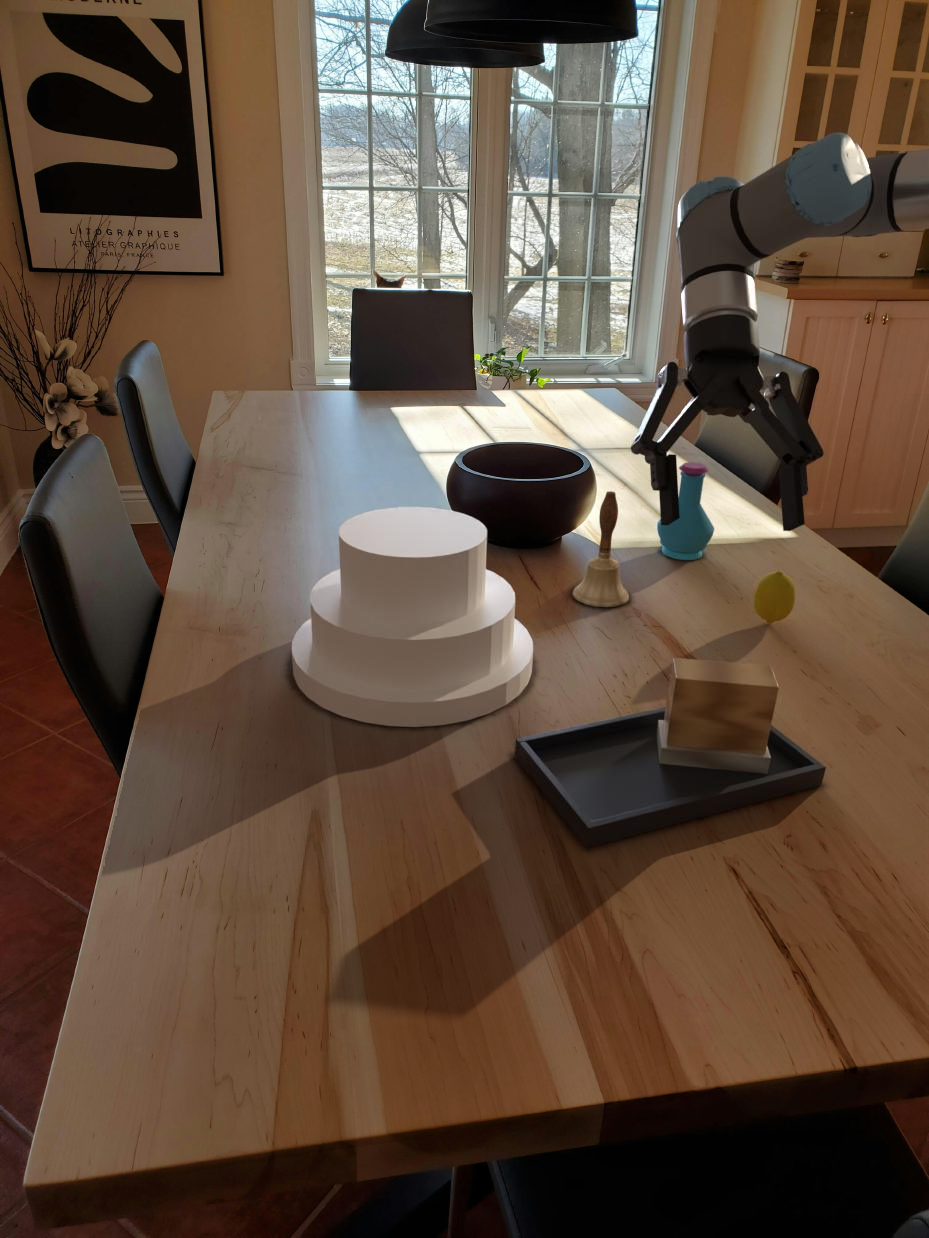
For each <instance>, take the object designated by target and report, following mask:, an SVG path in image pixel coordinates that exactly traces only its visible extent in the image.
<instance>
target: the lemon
mask: <svg viewBox="0 0 929 1238" xmlns="http://www.w3.org/2000/svg"><path fill="white" fill-rule="evenodd" d="M795 585H796V584H795V583H794V581H793V580H792V578H791V577H789V576H788V575H787V574H785V573H784V572H783V571H782V570H776V571H773V572H769V573H767V574H765V575H763V576H762V577H761V578H760V580H759V581H758V582H757V584H756V586H755V588H754V592H753V597H752V603H753V608H754V611H755V612H756V614H757V615H758V616H759V617H760V618H761V619H763V620H764V621H765V622H766V623H767V624H768V625H772V624H773V623H775V622H779V621H782V620H784V619H786V618H788V616H789V615H790V614H791V612H792V611H793V609H794V607H795V603H796V600H797V599H796V598H797V593H796V592H797V590H796V586H795Z"/></svg>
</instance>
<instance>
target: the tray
mask: <svg viewBox="0 0 929 1238" xmlns="http://www.w3.org/2000/svg"><path fill="white" fill-rule="evenodd" d="M665 709H666V706H665V707H659V708H654V709H649V710H646V711H640V712H635V713H631V714H626V715H622V716H617V717H612V718H606V719H602V720H598V721H594V722H588V723H584V724H579V725H575V726H574V725H573V726H569V727H564V728H560V729H555V730H550V731H546V732H540V733H536V734H532V735H528V736H523V737H518V738H515V744H514V758H515V759H516V760H517V762H518V764H520V765H521V767H522V768H523V769H524V771H525V772H526V773H527V774H528V776H529V777H530V778H531V780H532V781H533V782H534V784H535V785H536V786H537V787H538V789H539V790H540V791H541V792H542V793H543V795H544V796H545V797H546V799H547V800H548V801H549V802H550V804H551V805H552V806H553V807H554V809H555V810H556V811H557V813H558V814H559V815H560V816H561V818H562V819H563V820H564V821H565V823H566V824H567V825H568V826H569V828H570V829H571V830H572V832H573V833H574V834H575V835H576V837H577V838H578V839H579V840H580V842H581V843H582V844H583V846H585V848H586V849H588V848H592V847H595V846H599V845H603V844H606V843H610V842H615V841H618V840H623V839H626V838H629V837H633V836H637V835H641V834H644V833H648V832H652V831H655V830H659V829H663V828H667V827H670V826H674V825H678V824H681V823H686V822H689V821H693V820H696V819H700V818H704V817H708V816H711V815H716V814H719V813H723V812H726V811H731V810H734V809H737V808H742V807H746V806H750V805H753V804H757V803H760V802H764V801H767V800H773V799H775V798H779V797H783V796H786V795H790V794H793V793H794V794H795V793H798V792H801V791H805V790H809V789H812V788H813V789H814V788H816V787H820V786H822V785H823V781H824V778H825V773H826V769H827V766H825V764H823V763H822V762H821V761H819V760H818V759H816V758H815V757H814V756H813V755H811V754H810V753H809V752H807V751H806V750H805V749H803V748H802V747H801V746H800V745H799V744H797V743H796V742H795V741H793V740H792V739H791V738H789V737H788V736H787V735H785V734H784V733H783V732H781V731H780V730H779V729H777V728H776V727H775V726H774V725H773V724H771V728H770V733H769V737H768V742H767V747H768V751H769V754H770V757H771V760H770V764H769V769H768V774H762V773H751V772H741V771H731V770H721V769H710V768H700V767H690V766H680V765H669V764H660V763H659V756H658V746H657V737H656V734H657V727H658V720H664V715H665Z"/></svg>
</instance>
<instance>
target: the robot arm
mask: <svg viewBox="0 0 929 1238" xmlns="http://www.w3.org/2000/svg"><path fill="white" fill-rule="evenodd" d="M918 230H929V148H925V149H917V150H911V151H907V152H895V153H890V154H884V155H883V154H882V155H877V156H870V157H869V156H868V157H866V156H865V153H864V151H863V150H862V148H861V147H860V145H859V143H858V142H856V141H855V140H854V141H853V139H852V138H851V136H850V135H848V134H847V133H845V132H832V133H830V134H828V135H826V136H824V137H822V138H820V139H818V140H816V141H815V142H811V143H808V144H806V145H803V146H802V147H800V149H798V150H796V151H795V152H794V154H792V155H790V156H789V157H786V158H785V159H784V160H782V161H780V162H779V163H777V164H775V165H774V166H772V167H770V168H769V169H767V170H766V171H764V172H762V173H761V174H759V175H757V176H756V177H754V178H752V179H751V180H749V181H747V182H746V183H744V182H742V181H741V180H739V179H738V178H735V177H731V176H715V177H713V178H712V179H710V180H707V181H706V180H701V181H698V182H696V183H695V184H693V185H691V186H690V187H689V188H687V190H686V191H685V192H684V194H683V195H682V196H681V198H680V200H679V203H678V207H677V230H676V234H675V237H676V245H677V248H678V259H679V268H680V280H681V286H680V291H681V310H682V328H683V331H684V332H685V333H684V335H683V350H684V366H685V367H686V369H685V368H679V365H678V363H676V362H675V361H669V362H668V363H667V364H666V365H664V367H663V368H662V369H661V370H660V371H659V372H658V373H657V375H656V391H655V393H654V395H653V398H652V400H651V402H650V405H649V406H648V407H647V411H646V412H645V415H644V417H643V419H642V422H641V424H640V426H639V428H638V430H637V432H636V435H635V436H634V439H633V441H632V443H631V446H630V452H631V453H632V454H633V455H637V456H638V455H640V456H641V455H642V456H644V461H645V463H646V464H648V465H649V471H650V473H649V474H650V486H651V488H652V491H658V495H659V514H660V519H661V525H669V524H671V523H673V522H674V521H676V520H677V519H679V518H680V515H679V481H678V479H679V478H678V463H677V454H672V453H669V454H668V452H669V451H670V449H671V448H672V447H673V446H674V444H675V443H676V442H677V441H678V440H679V439H680V437H681V436H682V435H683V434H684V433H685V431H686V430H687V429H688V427H689V426H690V425H691V424H692V423H693V422H694V420H695V419H696V418H697V416H698V415H699V414H700V413H701V411H703V412H704V413H706V415H707V416H715V417H716V416H719V415H722V416H724V417H728V418H736V417H737V416H738V417H739V418H740V419H741V420H742V421H743V422H744V423H745V424H749V425H750V426H751V427H752V428H753V430H754V431H755V432H756V433H757V434H758V436H759V437H760V438H761V439H762V440H763V442H764V443H765V445H766V446H767V447H768V448H769V449H770V450H771V451H772V452H773V454H774V455H775V456H776V457H777V458H778V459H779V461H780V462H781V463H782V465H783V466H784V467H783V468H781V469H780V470H778V477H779V479H778V480H779V490H780V493H779V494H780V505H781V518H782V519H781V521H782V531H783V532H791V531H793V530H795V529H797V528H799V527H802V526H804V525H805V510H804V497H805V496H807V495H808V492H809V485H808V484H809V482H808V470H807V468H808V466H809V465H811V464H813V463H815V462H816V461H818V460H819V459H821V458H822V457H823V456H824V453H825V452H824V449H823V447H822V445H821V444H820V442H819V439H818V438H817V436H816V434H815V433H814V431H813V429H812V427H811V424H810V423H809V420H807V418H806V416H805V414H804V412H803V410H802V408H801V405H800V404H799V403H798V400H797V399H796V397H795V395H794V394H793V392H792V385H791V381H790V375H789V373H788V372H786V371H783V370H781V371H780V372H779V373H777V374H776V375H766V376H765V375H763V374H762V372H761V370H760V356H761V348H760V336H759V335H760V334H759V325H758V324H757V321H758V316H759V315H758V303H757V295H756V294H757V293H756V284H755V283H756V281H755V264H756V263H757V262H759V261H761V260H763V259H766V258H767V259H768V258H769V257H770V256H772V255H774V254H776V253H778V252H779V251H782V250H784V249H786V248H788V247H790V246H792V245H793V244H796V243H798V242H800V241H804V240H805V239H809V238H811V239H815V238H836V237H852V238H866V237H868V238H869V237H874V236H878V235H881V234H893V233H899V232H909V231H918ZM682 384H683V386H684V387H685V388H686V390H687V391H688V392H689V394H690V395H691V397H692V398H691V399H690V401H689V402H688V403H687V405H685V406H684V408H683V409H682V411H681V412H680V414H679V415H678V416H677V417H675V419H674V420H673V422H672V423H671V424H670V425H669V427H668V428H667V429H666V430H665V432H664V433H663V434H662V435H661V436H660V438H659V439H658V440H657V441H656V440H654V438H655V435H656V433H657V431H658V429H659V427H660V425H661V422H662V420H663V418H664V416H665V413H666V411H667V409H668V407H669V405H670V402H671V401H672V398H673V396H674V394H675V391H676V390H677V389H678V388H679V387H681V385H682ZM761 390H762V391H763V392H764V394H762V392H760V391H761ZM767 399H768V400H767ZM751 405H752V406H753V407H754V408H753V409H751V408H750V406H751ZM770 407H771V408H770ZM771 409H772V410H771Z"/></svg>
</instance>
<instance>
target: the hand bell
mask: <svg viewBox="0 0 929 1238" xmlns="http://www.w3.org/2000/svg"><path fill="white" fill-rule="evenodd" d="M616 495H617V494H616V492H615V491H610V490H609V491H606V493H605V496H604V498H603V500H602V502H601V505H600V509H599V515H598V517H599V520H598V521H599V528H600V541H599V548H598V554H597V555H598V556H596V557H593V558H591V559H590V560H589V561H588V563H587V568H586V572H585V575H584V577H583V579H582V581H581V582H580V583H579V584H577V585H576V586H575V588H574V589H573V591H572V596H573V598H574V599H575V600H576V601H578V602H580V603H582V604H584V605H588V606H591V607H595V608H615V607H618V606H621V605H622V606H623V605H625V604H626V603H628V602H629V600H630V595H629V593H628V591H627V590H626V589H625V587H623V585H622V581H621V578H620V565H619V562H618V561H617V560H615V559H614V558H612V557H611V552H612V539H613V538H612V537H613V533H614V531H615V528H616V526H617V522H618V517H619V506H618V501H617V496H616Z"/></svg>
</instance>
